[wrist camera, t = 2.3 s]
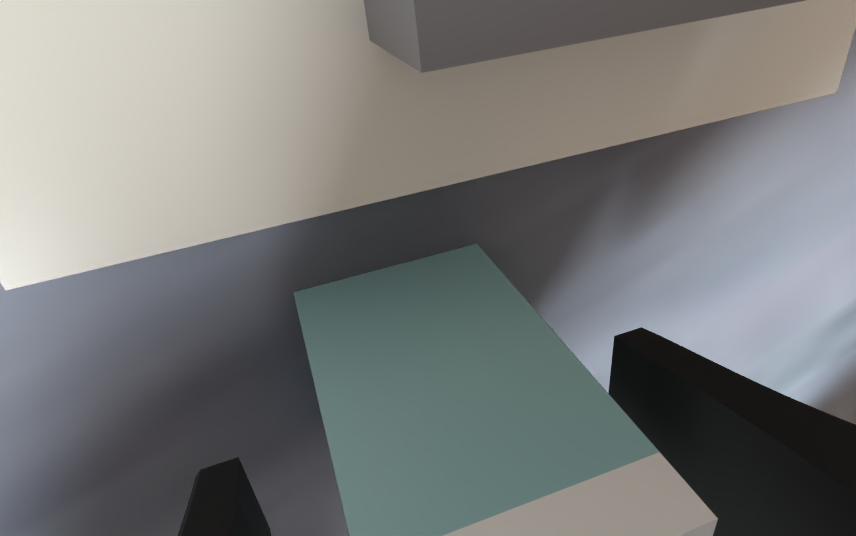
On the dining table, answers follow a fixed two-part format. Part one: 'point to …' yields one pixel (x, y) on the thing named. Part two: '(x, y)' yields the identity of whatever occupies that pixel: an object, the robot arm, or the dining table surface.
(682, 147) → the dining table surface
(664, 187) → the dining table surface
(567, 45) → the outlet plate
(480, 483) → the block
